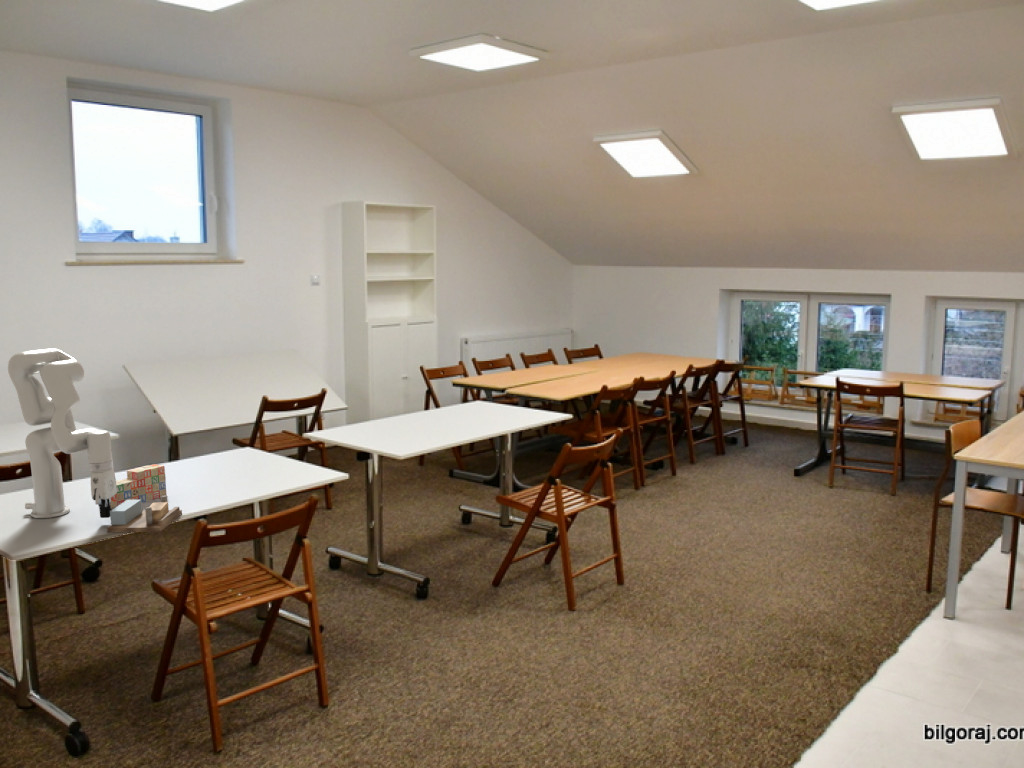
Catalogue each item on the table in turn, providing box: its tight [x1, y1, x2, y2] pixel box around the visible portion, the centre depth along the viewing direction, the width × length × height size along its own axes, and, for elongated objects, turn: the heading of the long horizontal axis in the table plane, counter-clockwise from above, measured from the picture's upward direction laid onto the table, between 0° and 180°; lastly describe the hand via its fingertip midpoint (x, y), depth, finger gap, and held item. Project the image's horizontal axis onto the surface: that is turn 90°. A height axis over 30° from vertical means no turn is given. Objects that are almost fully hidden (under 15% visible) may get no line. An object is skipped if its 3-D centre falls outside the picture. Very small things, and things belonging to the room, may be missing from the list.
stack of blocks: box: [110, 463, 168, 509], centre depth 329 cm, size 21×6×12 cm, turn 148°
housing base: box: [106, 495, 183, 533], centre depth 302 cm, size 18×20×8 cm
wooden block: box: [145, 501, 170, 523], centre depth 302 cm, size 5×10×4 cm, turn 8°
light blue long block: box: [109, 500, 143, 526], centre depth 302 cm, size 5×14×5 cm, turn 1°
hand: (105, 516), depth 302 cm, fingers closed
